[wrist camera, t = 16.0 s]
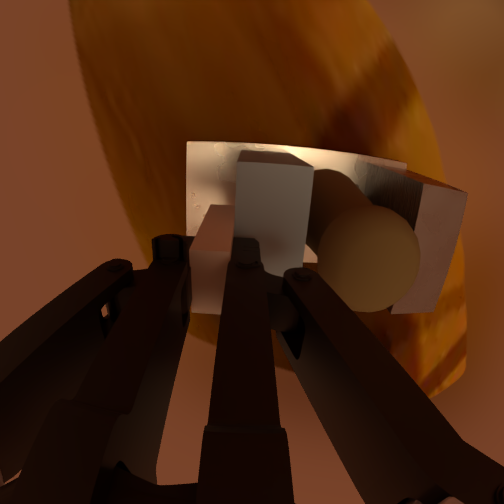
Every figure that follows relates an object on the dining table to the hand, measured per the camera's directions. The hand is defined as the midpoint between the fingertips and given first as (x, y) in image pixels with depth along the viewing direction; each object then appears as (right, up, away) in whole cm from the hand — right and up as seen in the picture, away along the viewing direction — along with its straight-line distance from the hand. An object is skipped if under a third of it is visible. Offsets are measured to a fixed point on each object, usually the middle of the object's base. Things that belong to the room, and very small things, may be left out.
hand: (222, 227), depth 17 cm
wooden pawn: (+7, +2, +5) cm, 9 cm away
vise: (+5, +2, +6) cm, 8 cm away
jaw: (+2, +2, +5) cm, 6 cm away
